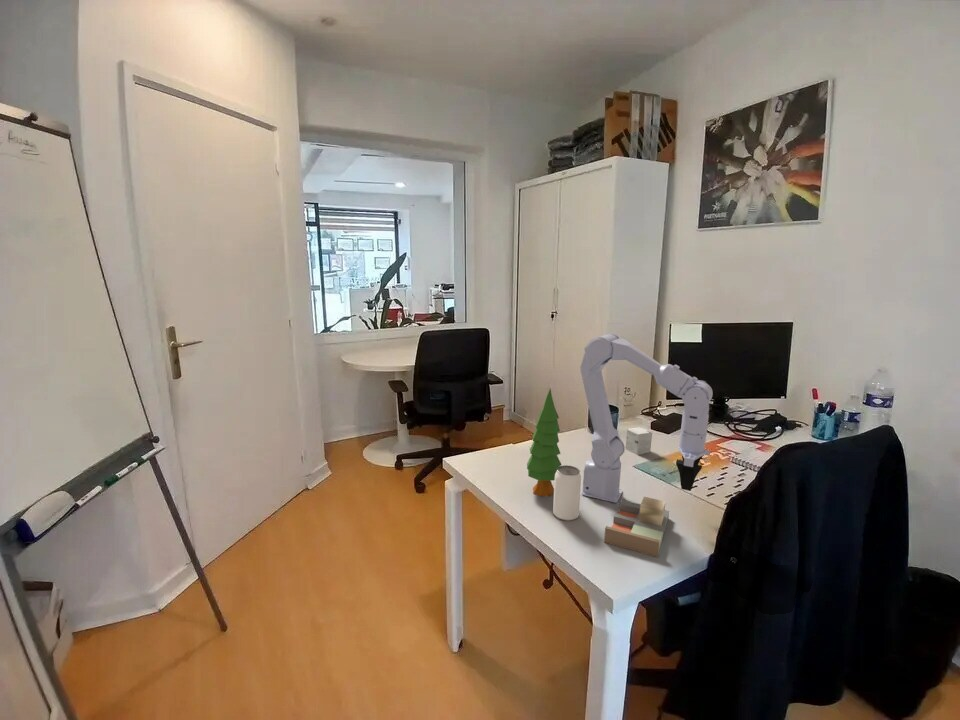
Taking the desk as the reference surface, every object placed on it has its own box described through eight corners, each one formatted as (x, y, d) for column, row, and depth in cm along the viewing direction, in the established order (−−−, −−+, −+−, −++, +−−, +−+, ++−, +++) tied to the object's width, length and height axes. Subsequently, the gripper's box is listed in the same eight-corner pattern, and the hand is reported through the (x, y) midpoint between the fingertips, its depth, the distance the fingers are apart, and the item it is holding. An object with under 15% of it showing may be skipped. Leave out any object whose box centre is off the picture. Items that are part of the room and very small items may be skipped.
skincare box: (624, 448, 163) (626, 428, 162) (638, 446, 166) (640, 426, 164) (637, 455, 158) (638, 434, 156) (651, 452, 160) (652, 432, 159)
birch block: (639, 520, 112) (640, 505, 112) (642, 511, 117) (644, 496, 116) (661, 526, 110) (662, 510, 109) (664, 516, 114) (665, 501, 114)
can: (575, 508, 122) (578, 464, 120) (581, 521, 116) (584, 475, 113) (550, 508, 122) (552, 464, 119) (555, 521, 115) (557, 475, 113)
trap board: (604, 542, 107) (605, 528, 106) (621, 506, 123) (622, 494, 122) (657, 557, 102) (658, 542, 101) (668, 518, 118) (669, 505, 117)
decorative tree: (550, 502, 125) (555, 393, 119) (518, 493, 129) (521, 387, 124) (563, 488, 133) (569, 385, 127) (533, 480, 138) (537, 380, 132)
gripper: (710, 444, 106) (703, 499, 109) (713, 425, 119) (706, 475, 121) (677, 438, 109) (670, 492, 112) (682, 420, 122) (677, 469, 125)
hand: (687, 483), depth 117 cm, fingers open, 7 cm apart
